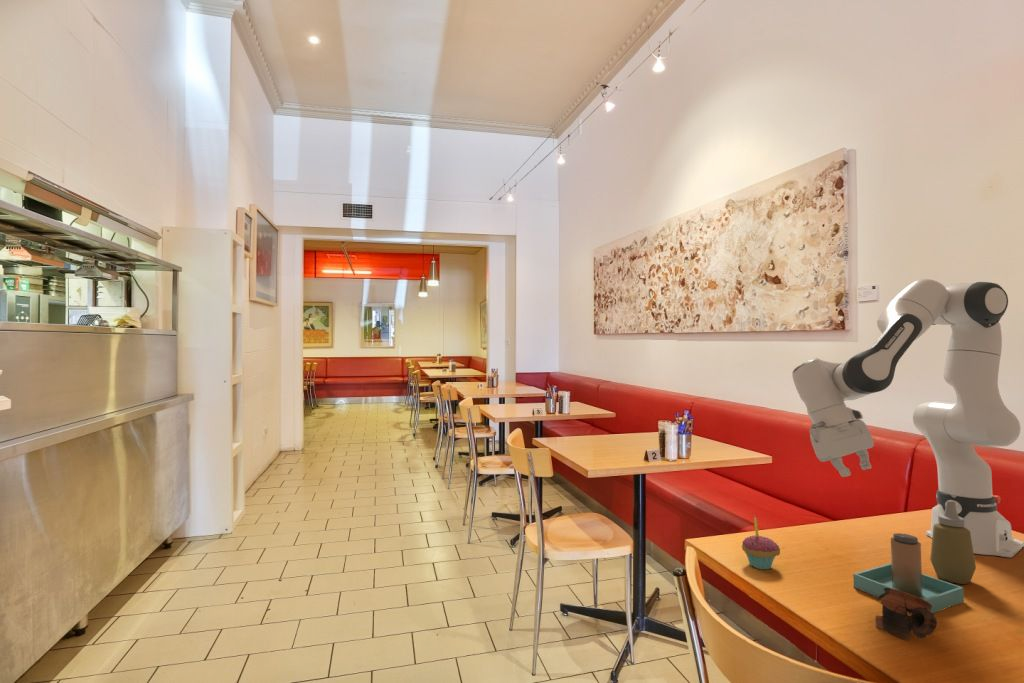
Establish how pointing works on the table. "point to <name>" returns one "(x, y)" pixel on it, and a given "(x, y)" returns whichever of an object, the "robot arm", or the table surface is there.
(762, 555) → the cupcake
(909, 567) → the shaker
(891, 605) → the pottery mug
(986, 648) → the table surface
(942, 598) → the tray
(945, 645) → the table surface
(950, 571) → the squeeze bottle
